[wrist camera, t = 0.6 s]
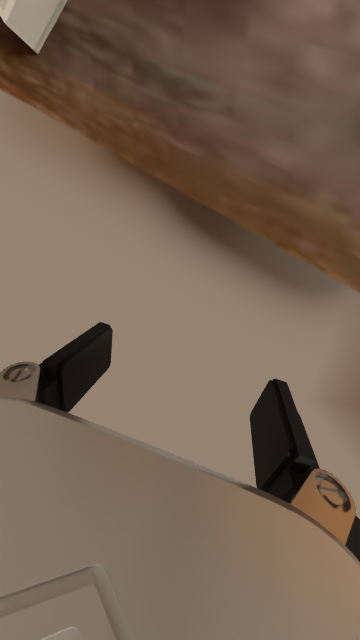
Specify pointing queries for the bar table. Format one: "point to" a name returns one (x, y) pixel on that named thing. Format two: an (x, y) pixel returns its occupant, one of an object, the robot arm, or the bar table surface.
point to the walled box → (31, 19)
